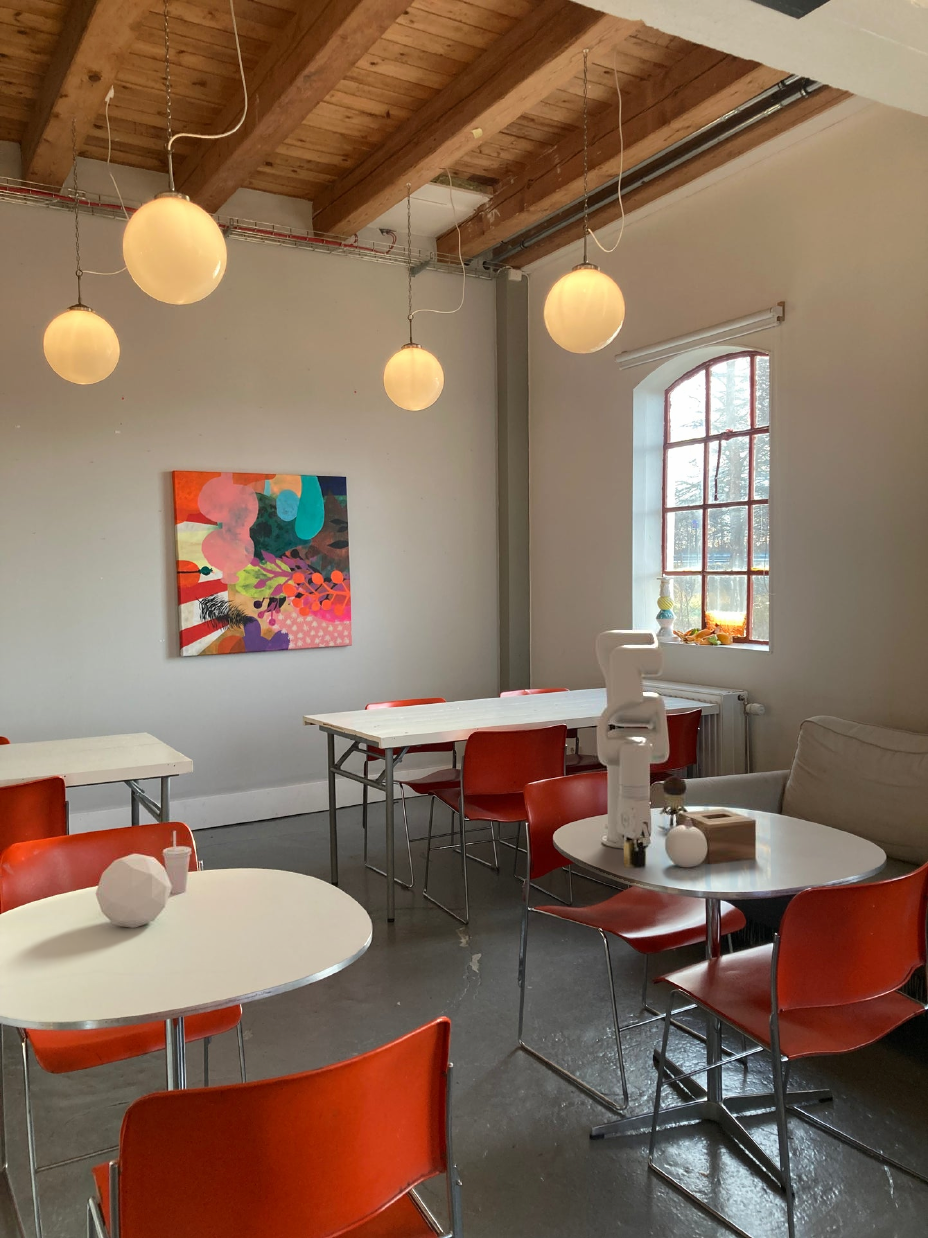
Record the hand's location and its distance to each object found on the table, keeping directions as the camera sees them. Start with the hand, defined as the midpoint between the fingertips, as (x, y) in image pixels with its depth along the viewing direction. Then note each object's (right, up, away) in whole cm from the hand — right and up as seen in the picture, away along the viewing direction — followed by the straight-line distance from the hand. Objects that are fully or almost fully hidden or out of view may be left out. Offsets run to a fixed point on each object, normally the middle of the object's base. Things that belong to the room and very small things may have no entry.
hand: (634, 863), depth 231 cm
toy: (+19, 0, +41) cm, 45 cm away
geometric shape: (-112, -2, -41) cm, 119 cm away
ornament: (+13, -1, -2) cm, 13 cm away
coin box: (+23, 0, +9) cm, 25 cm away
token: (0, -1, 0) cm, 1 cm away
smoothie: (-110, -2, -19) cm, 111 cm away
